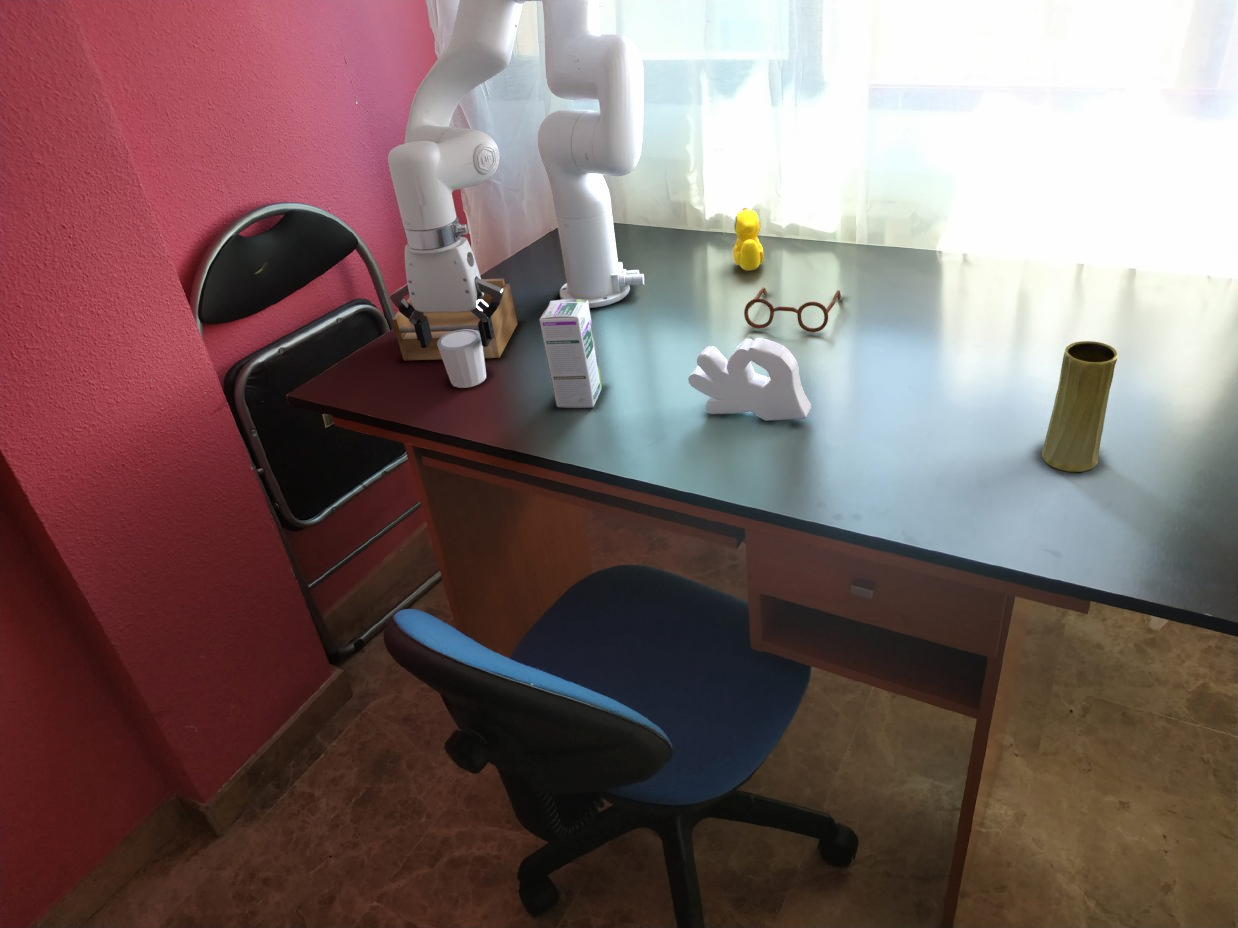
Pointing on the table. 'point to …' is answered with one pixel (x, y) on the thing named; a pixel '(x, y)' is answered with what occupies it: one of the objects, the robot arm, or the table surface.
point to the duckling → (747, 240)
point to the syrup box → (571, 353)
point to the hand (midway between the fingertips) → (457, 343)
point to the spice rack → (458, 327)
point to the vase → (1080, 407)
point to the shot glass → (463, 357)
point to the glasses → (799, 311)
